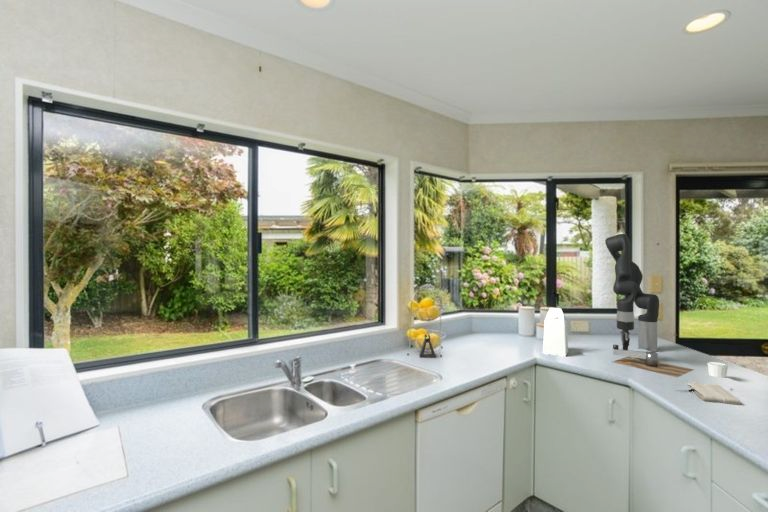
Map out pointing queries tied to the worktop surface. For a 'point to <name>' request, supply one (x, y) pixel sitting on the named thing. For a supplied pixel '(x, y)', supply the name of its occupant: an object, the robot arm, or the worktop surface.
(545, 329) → the milk
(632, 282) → the robot arm
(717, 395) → the washcloth
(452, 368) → the worktop surface
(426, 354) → the phone stand
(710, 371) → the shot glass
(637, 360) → the dial plate
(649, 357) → the lever
